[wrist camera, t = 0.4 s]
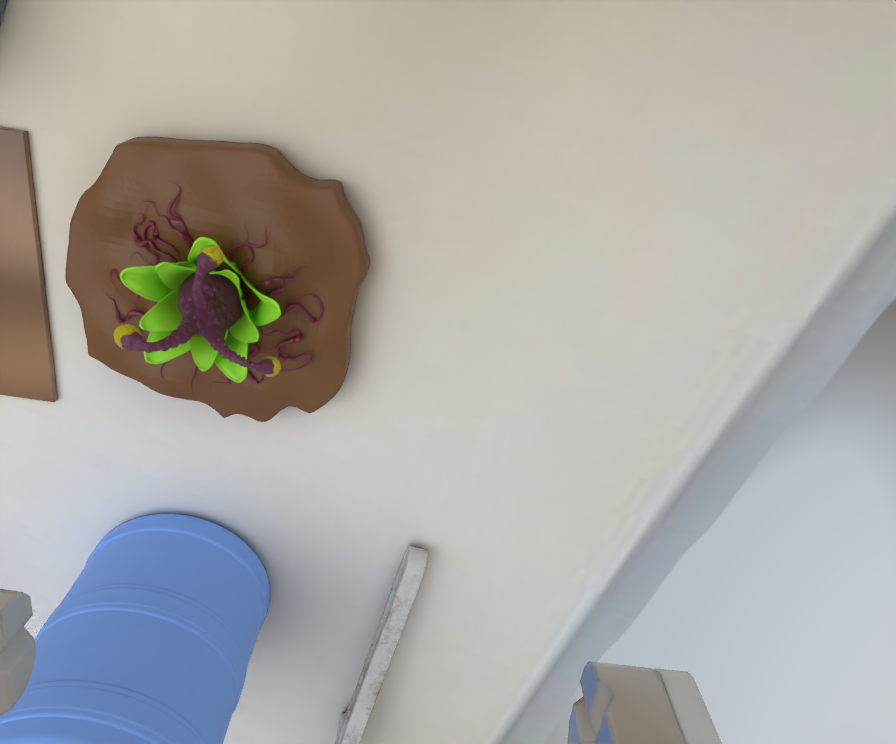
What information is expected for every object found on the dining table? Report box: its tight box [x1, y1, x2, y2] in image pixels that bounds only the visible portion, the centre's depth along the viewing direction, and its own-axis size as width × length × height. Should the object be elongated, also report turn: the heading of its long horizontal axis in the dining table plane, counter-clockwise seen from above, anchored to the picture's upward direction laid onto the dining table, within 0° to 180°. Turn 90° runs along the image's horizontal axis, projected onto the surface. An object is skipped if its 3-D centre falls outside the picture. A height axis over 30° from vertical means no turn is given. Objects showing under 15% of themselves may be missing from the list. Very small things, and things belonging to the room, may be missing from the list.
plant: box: [66, 137, 370, 422], centre depth 43 cm, size 20×20×11 cm
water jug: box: [0, 514, 270, 744], centre depth 49 cm, size 16×16×28 cm
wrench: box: [335, 546, 428, 744], centre depth 63 cm, size 8×2×30 cm
